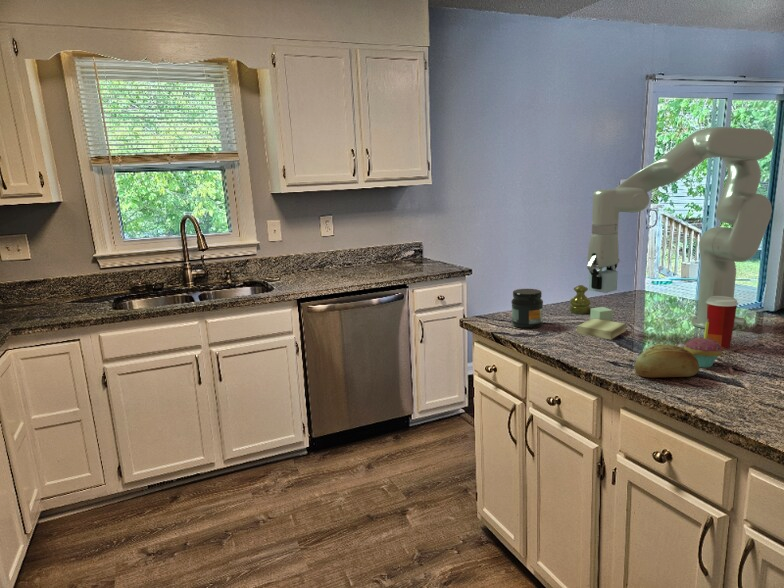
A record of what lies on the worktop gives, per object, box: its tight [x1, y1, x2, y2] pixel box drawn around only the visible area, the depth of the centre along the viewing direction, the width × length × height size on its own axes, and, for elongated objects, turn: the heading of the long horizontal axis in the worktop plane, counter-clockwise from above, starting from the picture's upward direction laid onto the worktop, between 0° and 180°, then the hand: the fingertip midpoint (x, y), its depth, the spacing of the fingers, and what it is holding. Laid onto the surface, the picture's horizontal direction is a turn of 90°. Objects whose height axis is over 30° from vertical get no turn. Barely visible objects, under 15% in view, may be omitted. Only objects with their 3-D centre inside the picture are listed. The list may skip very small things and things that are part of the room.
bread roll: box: [634, 344, 700, 379], centre depth 127 cm, size 10×15×8 cm, turn 84°
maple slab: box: [576, 318, 627, 340], centre depth 165 cm, size 11×11×3 cm
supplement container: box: [510, 288, 544, 329], centre depth 176 cm, size 10×10×12 cm
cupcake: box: [684, 319, 723, 368], centre depth 133 cm, size 9×8×12 cm
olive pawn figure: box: [569, 284, 592, 315], centre depth 190 cm, size 7×7×10 cm
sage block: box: [589, 306, 614, 321], centre depth 174 cm, size 5×5×5 cm
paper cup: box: [706, 296, 739, 350], centre depth 145 cm, size 8×8×14 cm
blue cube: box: [588, 268, 619, 294], centre depth 162 cm, size 6×6×6 cm
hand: (602, 286), depth 162 cm, fingers closed on blue cube, 6 cm apart
